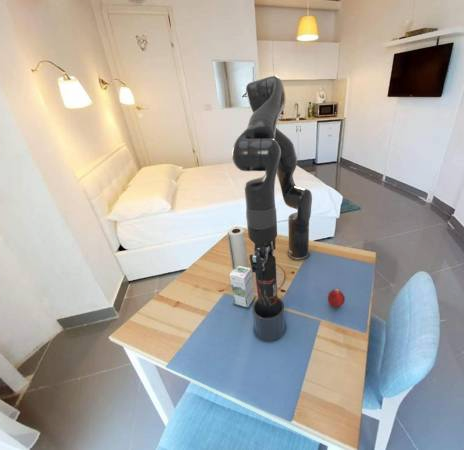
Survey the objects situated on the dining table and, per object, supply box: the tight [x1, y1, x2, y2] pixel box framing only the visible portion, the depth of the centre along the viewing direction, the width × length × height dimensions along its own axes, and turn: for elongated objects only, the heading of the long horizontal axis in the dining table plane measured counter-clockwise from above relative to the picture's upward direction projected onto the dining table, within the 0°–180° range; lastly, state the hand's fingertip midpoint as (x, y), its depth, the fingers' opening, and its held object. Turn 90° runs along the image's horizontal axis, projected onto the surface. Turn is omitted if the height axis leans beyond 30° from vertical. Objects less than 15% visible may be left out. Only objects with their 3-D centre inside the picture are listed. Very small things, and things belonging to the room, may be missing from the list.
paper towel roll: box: [227, 226, 249, 271], centre depth 102 cm, size 7×6×21 cm
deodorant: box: [254, 254, 278, 306], centre depth 73 cm, size 6×6×15 cm
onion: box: [327, 288, 346, 308], centre depth 88 cm, size 6×6×8 cm
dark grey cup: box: [251, 296, 286, 342], centre depth 80 cm, size 10×10×10 cm
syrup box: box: [229, 265, 255, 308], centre depth 90 cm, size 6×6×14 cm
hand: (265, 272), depth 71 cm, fingers closed on deodorant, 6 cm apart
